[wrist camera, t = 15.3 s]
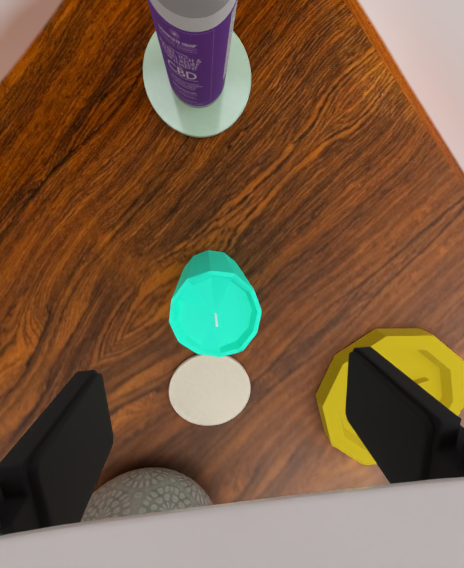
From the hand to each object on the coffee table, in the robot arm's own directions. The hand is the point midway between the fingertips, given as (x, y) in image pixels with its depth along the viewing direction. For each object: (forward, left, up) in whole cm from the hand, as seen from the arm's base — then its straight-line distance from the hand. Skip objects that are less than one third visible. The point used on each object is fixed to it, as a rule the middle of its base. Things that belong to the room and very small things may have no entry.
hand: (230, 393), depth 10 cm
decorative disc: (+20, -15, -18) cm, 31 cm away
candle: (0, 0, -18) cm, 18 cm away
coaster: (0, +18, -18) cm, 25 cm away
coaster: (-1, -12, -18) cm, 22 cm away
